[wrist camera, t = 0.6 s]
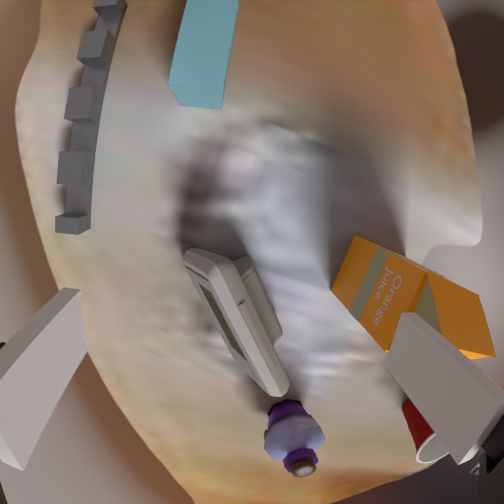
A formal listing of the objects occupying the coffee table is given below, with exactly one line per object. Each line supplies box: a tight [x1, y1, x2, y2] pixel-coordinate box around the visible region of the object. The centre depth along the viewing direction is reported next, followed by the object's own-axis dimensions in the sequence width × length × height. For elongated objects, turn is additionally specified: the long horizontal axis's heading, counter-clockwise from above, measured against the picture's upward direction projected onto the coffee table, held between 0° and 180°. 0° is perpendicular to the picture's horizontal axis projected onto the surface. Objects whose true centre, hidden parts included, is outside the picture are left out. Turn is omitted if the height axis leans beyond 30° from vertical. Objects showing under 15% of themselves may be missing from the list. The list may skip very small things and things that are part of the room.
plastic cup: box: [402, 398, 449, 463], centre depth 40 cm, size 11×11×12 cm
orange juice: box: [331, 235, 496, 359], centre depth 28 cm, size 8×9×20 cm
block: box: [168, 0, 239, 110], centre depth 25 cm, size 9×4×9 cm, turn 172°
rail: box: [55, 0, 127, 235], centre depth 27 cm, size 28×3×4 cm, turn 172°
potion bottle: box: [264, 399, 326, 477], centre depth 36 cm, size 9×9×12 cm
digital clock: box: [183, 248, 290, 397], centre depth 31 cm, size 16×9×11 cm, turn 11°
